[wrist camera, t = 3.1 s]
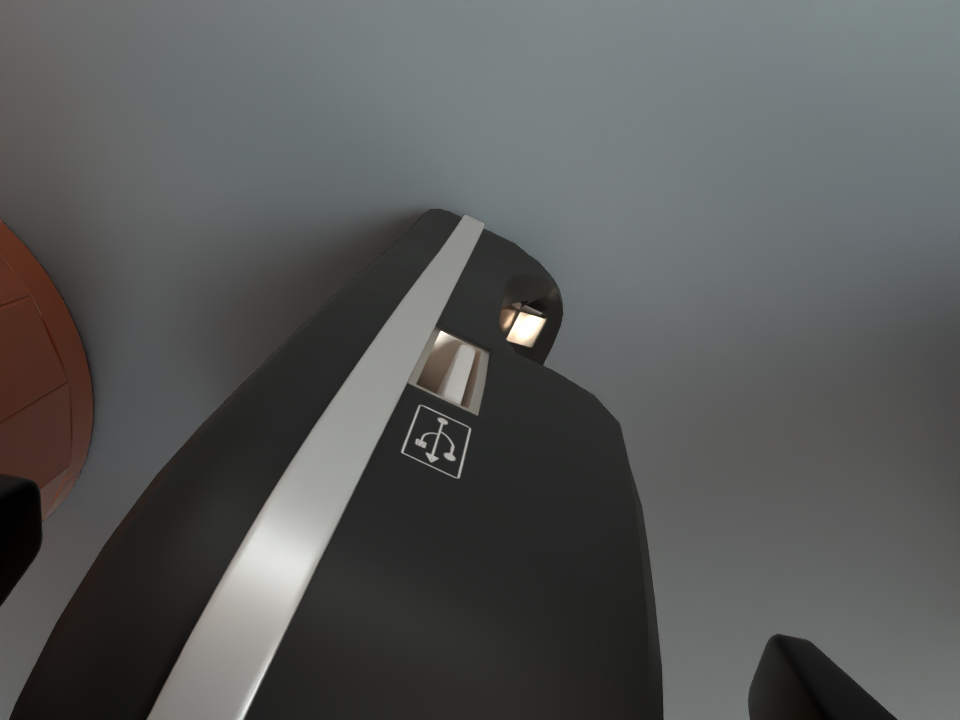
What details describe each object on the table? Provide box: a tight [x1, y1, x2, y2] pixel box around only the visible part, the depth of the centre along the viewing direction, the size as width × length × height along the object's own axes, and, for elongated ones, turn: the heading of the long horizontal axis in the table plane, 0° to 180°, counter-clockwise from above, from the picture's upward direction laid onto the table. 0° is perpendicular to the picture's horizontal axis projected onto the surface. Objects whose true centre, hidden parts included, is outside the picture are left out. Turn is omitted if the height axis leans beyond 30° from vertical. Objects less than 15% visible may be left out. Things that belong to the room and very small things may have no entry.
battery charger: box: [9, 209, 664, 720], centre depth 10 cm, size 7×4×11 cm, turn 155°
